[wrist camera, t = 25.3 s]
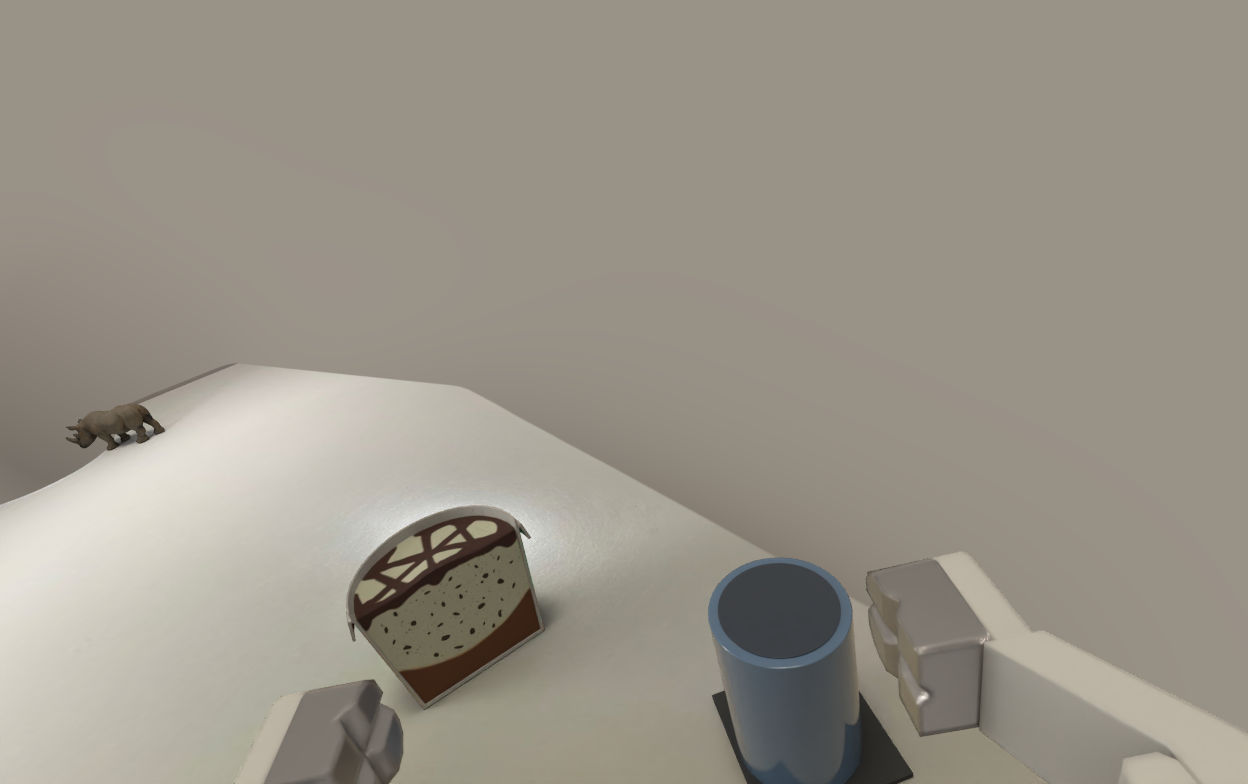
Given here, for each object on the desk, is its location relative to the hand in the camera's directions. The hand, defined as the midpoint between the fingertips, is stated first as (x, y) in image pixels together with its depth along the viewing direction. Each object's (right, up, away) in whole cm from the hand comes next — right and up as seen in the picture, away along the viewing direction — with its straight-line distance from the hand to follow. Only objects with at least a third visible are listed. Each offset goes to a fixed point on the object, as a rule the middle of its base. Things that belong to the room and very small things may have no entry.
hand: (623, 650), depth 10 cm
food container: (-11, -15, +37) cm, 41 cm away
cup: (+10, -15, +25) cm, 31 cm away
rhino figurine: (-79, -4, +89) cm, 119 cm away
